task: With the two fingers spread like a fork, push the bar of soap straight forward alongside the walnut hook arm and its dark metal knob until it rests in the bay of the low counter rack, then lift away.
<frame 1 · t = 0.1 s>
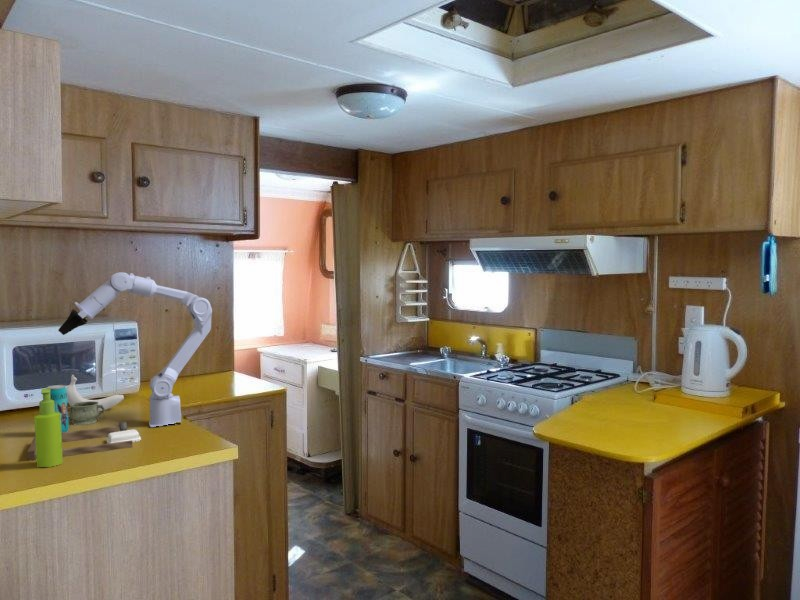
hand: (61, 331, 188), 32 cm above the counter, tool tilted 50°, fingers open, 7 cm apart
hook rack: (86, 438, 186), on the counter
beverage can: (58, 434, 192), on the counter
soap dispenser: (49, 465, 160), on the counter
vessel: (85, 422, 207), on the counter
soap: (123, 442, 182), on the counter
banana: (95, 412, 222), on the counter
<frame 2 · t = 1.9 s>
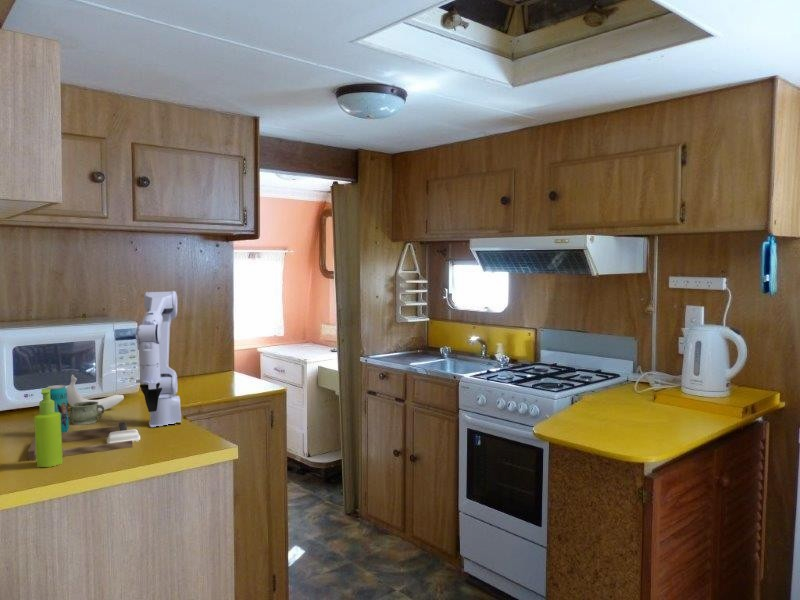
hand: (151, 409, 185), 8 cm above the counter, tool pointing down, fingers open, 6 cm apart
nothing on the counter moved.
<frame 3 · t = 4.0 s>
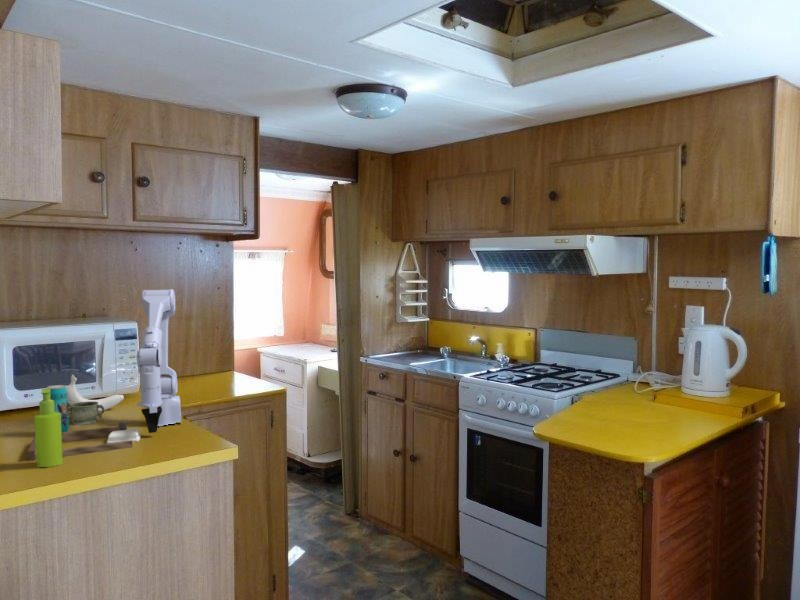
hand: (152, 432, 186), 1 cm above the counter, tool pointing down, fingers closed
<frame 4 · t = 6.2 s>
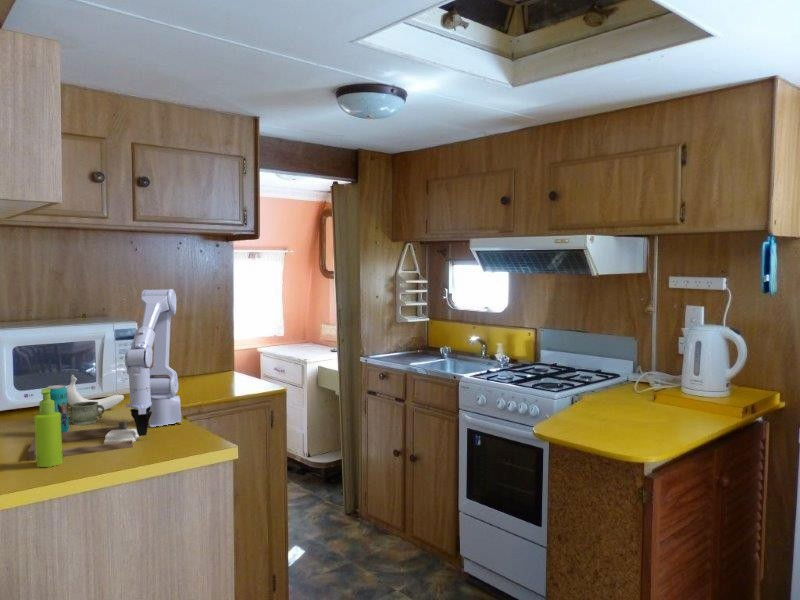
hand: (141, 433, 184), 1 cm above the counter, tool pointing down, fingers open, 4 cm apart
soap: (121, 441, 183), on the counter, touching gripper
everything else where it was.
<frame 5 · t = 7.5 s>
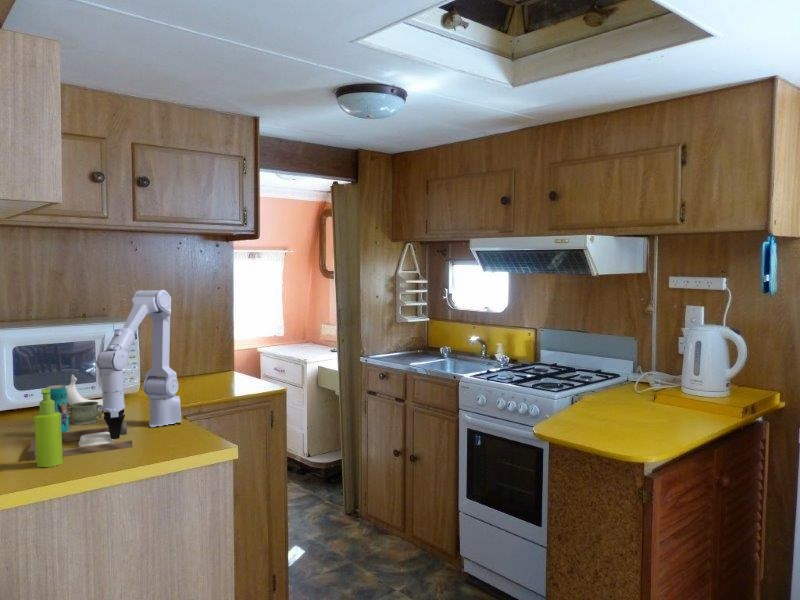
hand: (115, 436, 181), 1 cm above the counter, tool pointing down, fingers open, 4 cm apart
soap: (96, 445, 180), on the counter
everything else where it was.
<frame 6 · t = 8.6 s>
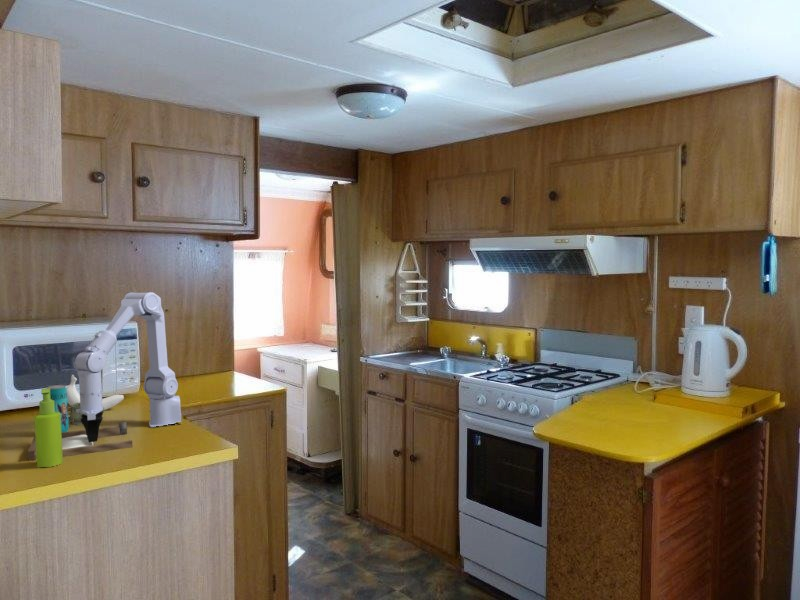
hand: (93, 439, 179), 1 cm above the counter, tool pointing down, fingers open, 4 cm apart
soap: (74, 448, 177), on the counter
everything else where it was.
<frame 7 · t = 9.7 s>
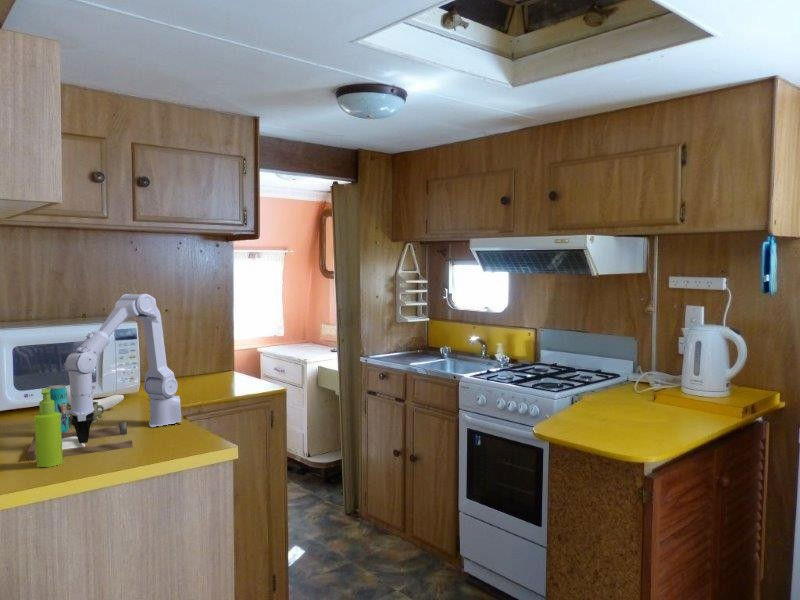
hand: (83, 440, 178), 1 cm above the counter, tool pointing down, fingers open, 4 cm apart
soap: (65, 450, 176), on the counter, touching gripper
everything else where it was.
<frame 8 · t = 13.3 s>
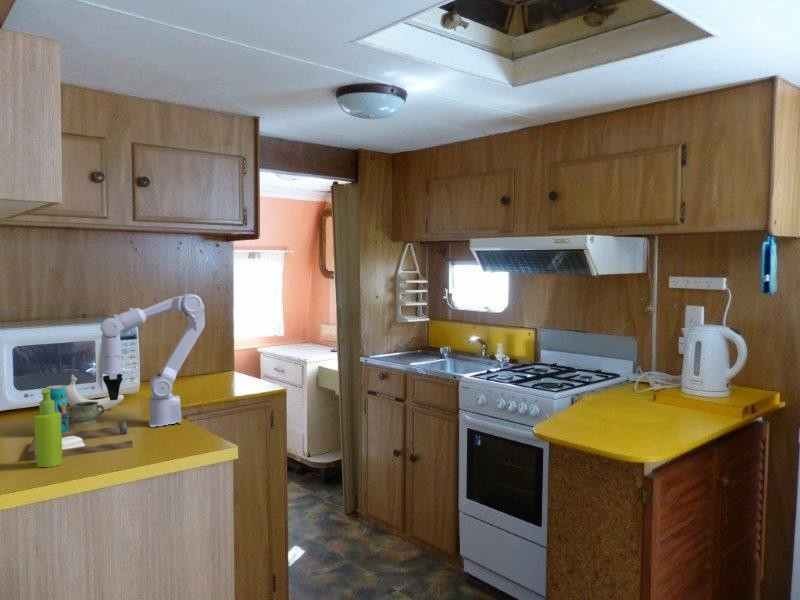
hand: (113, 398, 195), 10 cm above the counter, tool pointing down, fingers open, 4 cm apart
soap: (65, 449, 176), on the counter
everything else where it was.
at the end: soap inside the target area (1.5 cm from its centre), on the counter; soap moved 15.4 cm from its start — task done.
